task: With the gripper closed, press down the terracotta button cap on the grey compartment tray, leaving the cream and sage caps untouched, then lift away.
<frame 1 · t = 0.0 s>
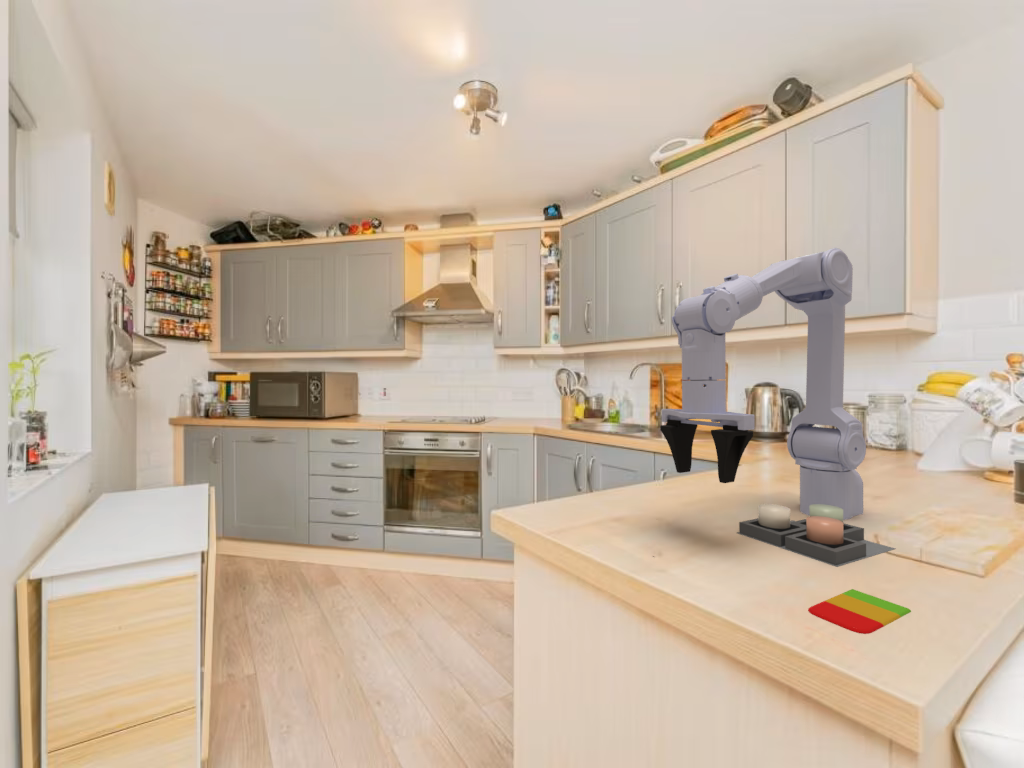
hand: (704, 476, 66), 10 cm above the counter, fingers open, 7 cm apart
cream button: (774, 515, 67), point 4 cm above the counter, slide at 0.0 cm
striped ice pop: (872, 621, 47), on the counter
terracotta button: (824, 529, 61), point 4 cm above the counter, slide at 0.0 cm
sage button: (826, 516, 67), point 4 cm above the counter, slide at 0.0 cm
grey compartment tray: (811, 548, 65), on the counter
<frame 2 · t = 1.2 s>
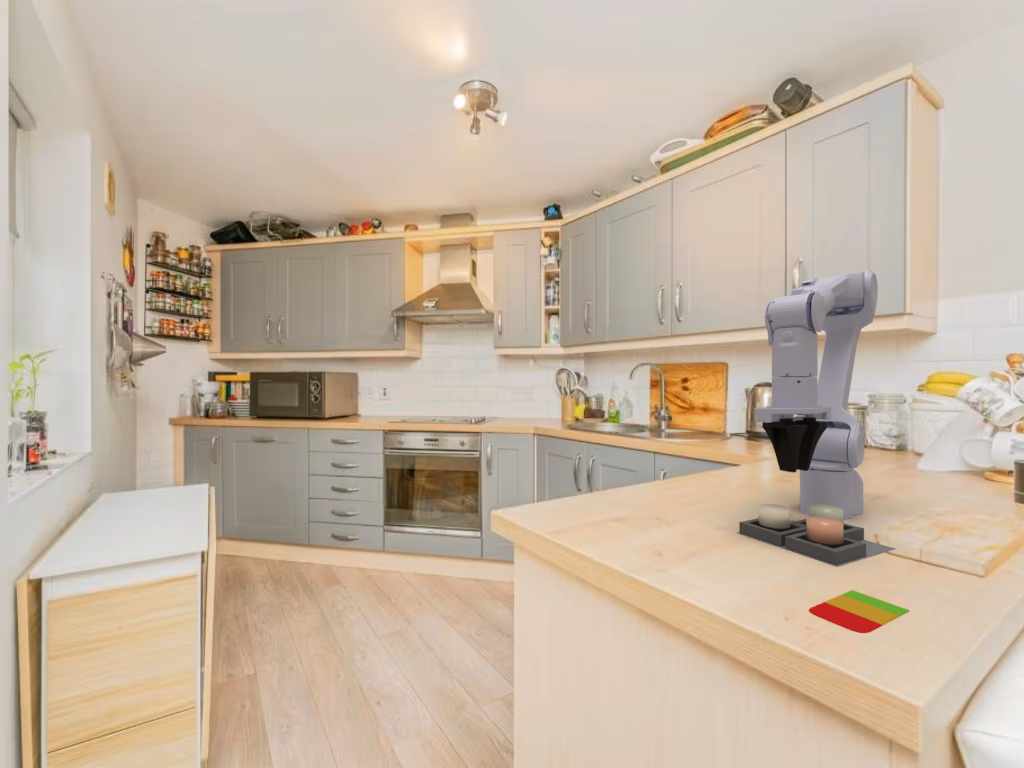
hand: (794, 470, 68), 10 cm above the counter, fingers closed
nothing on the counter moved.
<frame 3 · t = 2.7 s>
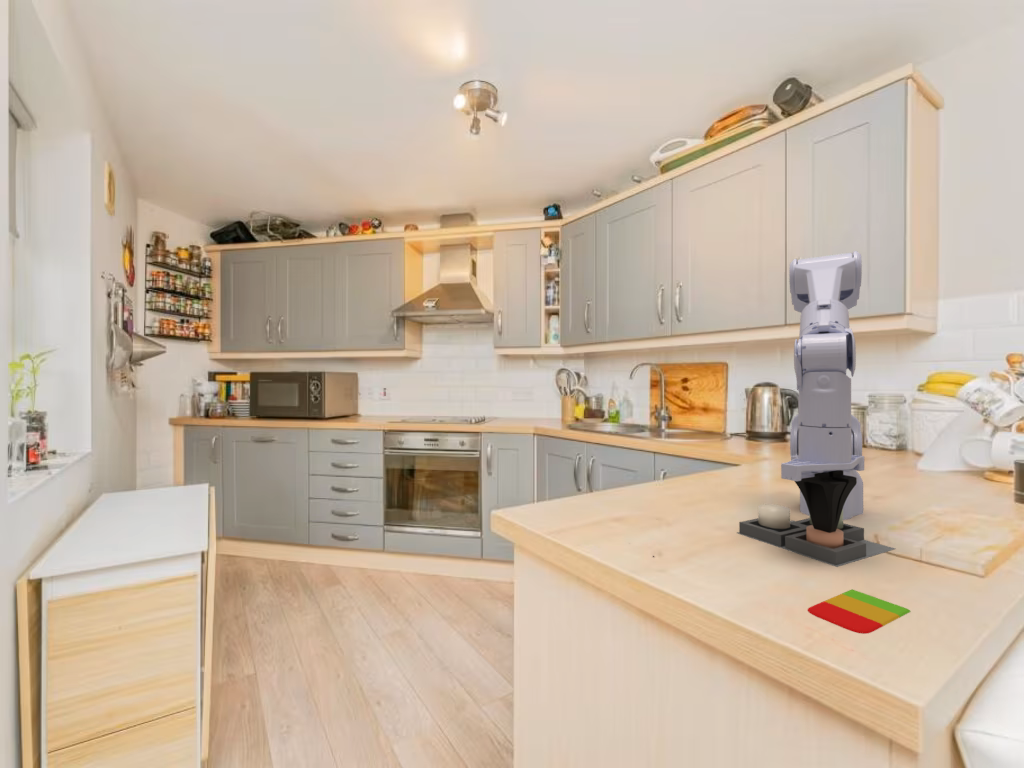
hand: (824, 530, 61), 4 cm above the counter, fingers closed, pressing on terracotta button
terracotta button: (824, 538, 61), point 3 cm above the counter, slide at 1.2 cm, touching gripper
everything else where it was.
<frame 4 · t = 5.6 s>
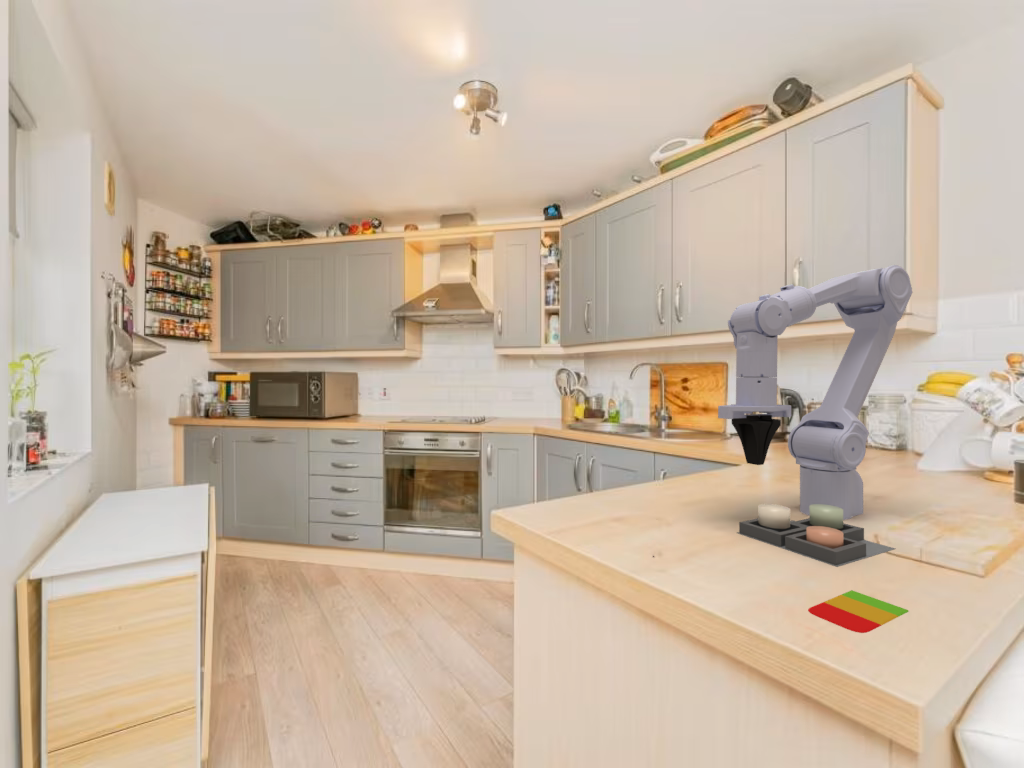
hand: (755, 463, 73), 10 cm above the counter, fingers closed
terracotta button: (824, 539, 61), point 3 cm above the counter, slide at 1.3 cm
everything else where it was.
at the end: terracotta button slide at 1.3 cm; cream button slide at 0.0 cm; sage button slide at 0.0 cm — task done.
